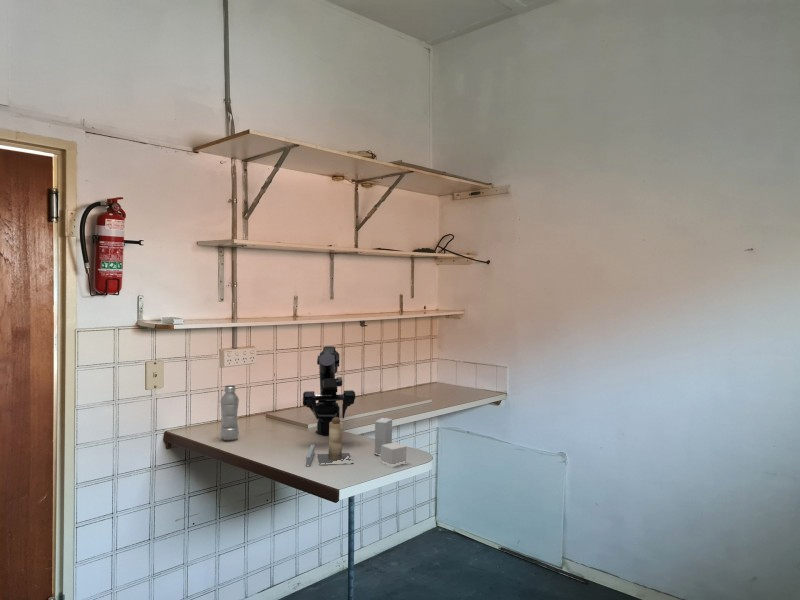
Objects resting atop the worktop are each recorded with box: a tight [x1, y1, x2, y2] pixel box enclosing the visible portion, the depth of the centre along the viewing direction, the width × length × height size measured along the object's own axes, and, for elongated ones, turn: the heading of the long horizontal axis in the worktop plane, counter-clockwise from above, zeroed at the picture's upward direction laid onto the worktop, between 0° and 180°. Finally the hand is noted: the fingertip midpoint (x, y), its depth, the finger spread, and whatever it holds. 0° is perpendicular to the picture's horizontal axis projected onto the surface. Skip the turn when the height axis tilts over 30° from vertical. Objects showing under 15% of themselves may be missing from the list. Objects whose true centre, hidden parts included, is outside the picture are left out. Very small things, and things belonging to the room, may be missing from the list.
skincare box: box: [374, 417, 393, 454], centre depth 203 cm, size 6×4×12 cm
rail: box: [305, 444, 316, 466], centre depth 195 cm, size 14×1×3 cm, turn 2°
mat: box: [316, 452, 352, 465], centre depth 196 cm, size 11×11×1 cm
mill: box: [327, 417, 344, 460], centre depth 196 cm, size 4×4×14 cm
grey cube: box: [380, 442, 407, 464], centre depth 194 cm, size 6×6×6 cm
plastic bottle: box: [219, 384, 240, 441], centre depth 216 cm, size 6×7×20 cm
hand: (330, 418), depth 207 cm, fingers open, 9 cm apart
